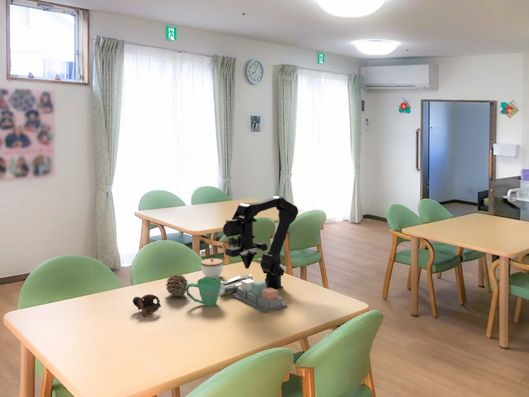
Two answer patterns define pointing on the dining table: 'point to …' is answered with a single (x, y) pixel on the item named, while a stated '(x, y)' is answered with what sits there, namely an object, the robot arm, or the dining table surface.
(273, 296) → the salmon pink block
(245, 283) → the key ivory
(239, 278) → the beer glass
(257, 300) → the keypad base
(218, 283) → the mug
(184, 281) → the pine cone
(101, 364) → the dining table surface
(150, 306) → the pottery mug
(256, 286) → the key teal
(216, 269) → the lidded jar
